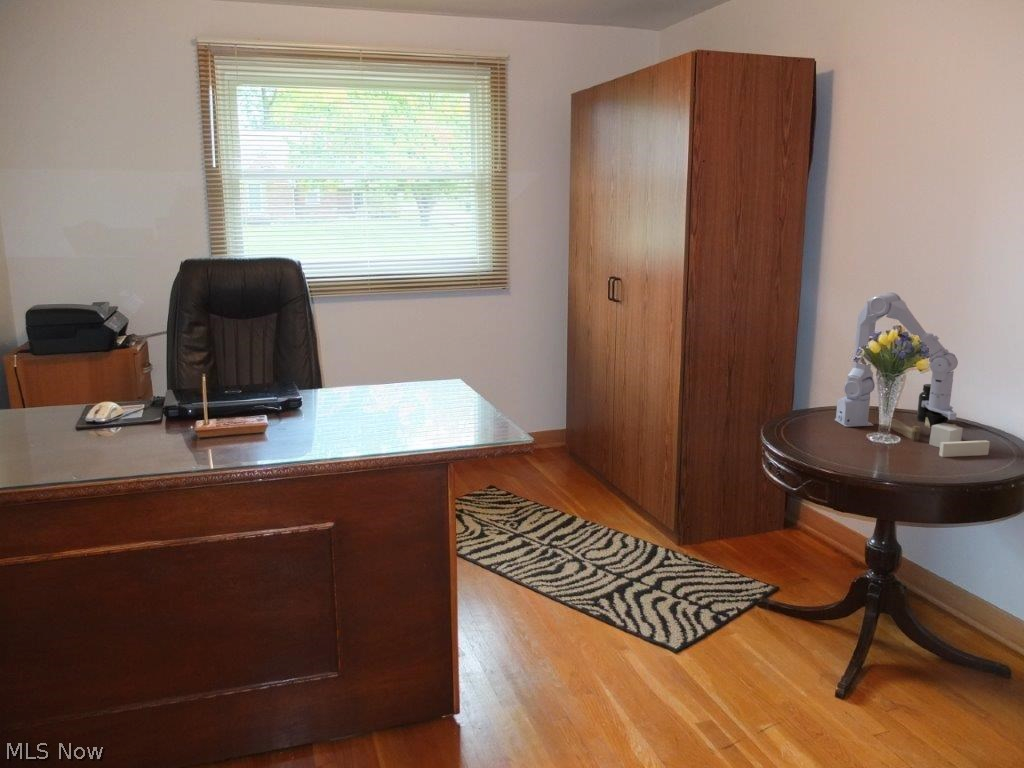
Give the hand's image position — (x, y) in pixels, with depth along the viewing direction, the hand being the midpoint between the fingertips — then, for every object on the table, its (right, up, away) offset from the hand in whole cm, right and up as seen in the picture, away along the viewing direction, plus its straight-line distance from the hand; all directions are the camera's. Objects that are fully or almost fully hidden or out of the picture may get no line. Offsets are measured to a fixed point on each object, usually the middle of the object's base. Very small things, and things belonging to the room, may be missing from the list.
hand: (935, 435), depth 244 cm
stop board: (+1, -5, -13) cm, 14 cm away
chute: (-1, 0, +7) cm, 7 cm away
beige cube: (0, -3, -5) cm, 6 cm away
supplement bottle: (+8, +4, +20) cm, 22 cm away
